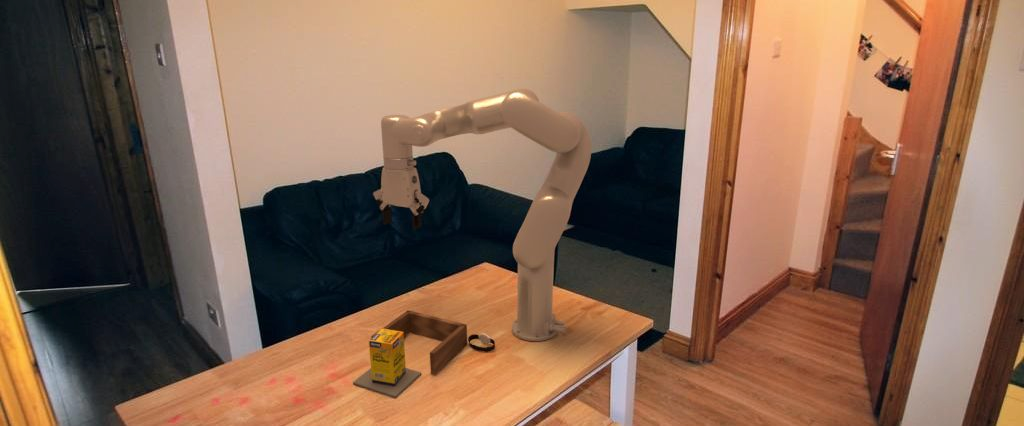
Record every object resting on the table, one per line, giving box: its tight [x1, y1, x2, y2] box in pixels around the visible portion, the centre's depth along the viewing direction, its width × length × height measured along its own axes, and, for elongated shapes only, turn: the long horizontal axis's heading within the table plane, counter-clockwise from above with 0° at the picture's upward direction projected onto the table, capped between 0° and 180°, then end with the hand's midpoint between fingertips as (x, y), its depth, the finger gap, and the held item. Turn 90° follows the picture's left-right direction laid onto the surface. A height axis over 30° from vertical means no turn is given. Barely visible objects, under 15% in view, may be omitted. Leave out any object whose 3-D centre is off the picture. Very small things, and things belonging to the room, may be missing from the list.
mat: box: [352, 367, 422, 399], centre depth 125 cm, size 12×10×1 cm
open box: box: [370, 310, 468, 377], centre depth 136 cm, size 18×15×6 cm
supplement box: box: [368, 328, 407, 386], centre depth 123 cm, size 6×6×11 cm
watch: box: [467, 332, 496, 353], centre depth 138 cm, size 8×5×4 cm, turn 61°
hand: (402, 225), depth 144 cm, fingers open, 9 cm apart
